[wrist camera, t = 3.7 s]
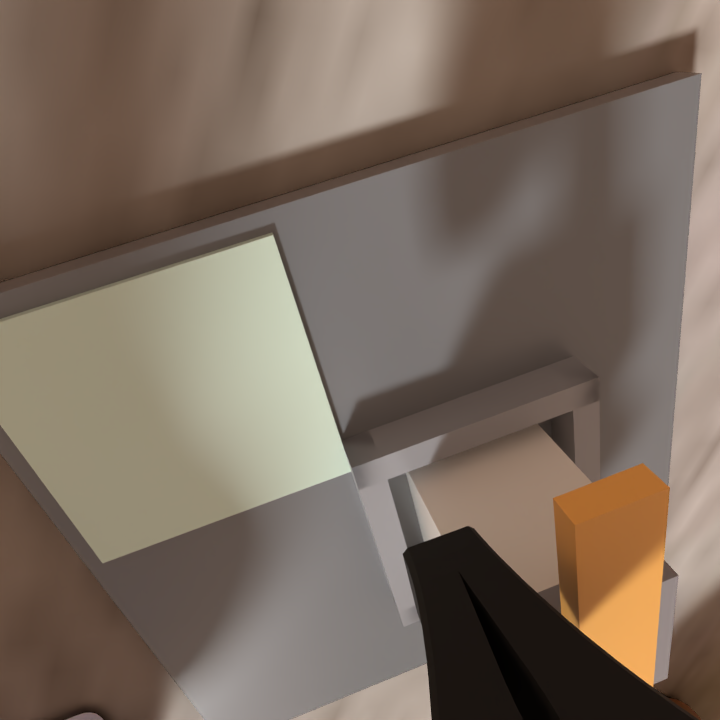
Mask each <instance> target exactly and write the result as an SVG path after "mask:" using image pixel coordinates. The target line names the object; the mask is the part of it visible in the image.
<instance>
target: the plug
mask: <svg viewBox="0 0 720 720" xmlns="http://www.w3.org/2000/svg"><path fill="white" fill-rule="evenodd" d="M406 475H407V479H408V483H409V487H410V491H411V495H412V498H413V502H414V506H415V510H416V514H417V518H418V521H419V525H420V529H421V533H422V537H423V541H424V542H425V541H428V540H430V539H433V538H436V537H439V536H441V535H444V534H447V533H450V532H452V531H455V530H458V529H461V528H463V527H466V526H470V527H472V528H474V529H475V530H476V531H477V532H478V534H479V535H480V536H481V537H482V538H483V539H484V540H485V541H486V542H487V543H488V545H489V546H490V547H491V548H492V549H493V550H494V551H495V552H496V553H497V554H498V555H499V556H500V557H501V558H502V559H503V560H504V561H505V562H506V563H507V564H508V565H509V566H510V567H511V568H512V569H513V570H514V571H515V572H516V573H517V574H518V575H519V576H520V577H521V578H522V579H523V580H524V581H525V582H526V583H527V584H528V585H529V586H530V587H532V588H533V589H534V590H535V591H536V592H537V593H538V594H539V595H540V596H541V597H543V598H544V599H545V600H546V601H547V602H548V603H549V604H550V605H552V606H553V607H554V608H555V609H556V610H557V611H558V612H559V613H561V602H560V588H559V575H558V561H557V547H556V533H555V519H554V506H553V498H555V497H557V496H560V495H562V494H565V493H567V492H570V491H573V490H575V489H578V488H580V487H583V486H585V485H588V484H590V483H592V482H591V481H590V480H589V479H588V478H587V476H586V475H585V474H584V473H583V472H582V471H581V470H580V469H579V468H578V467H577V466H576V465H575V464H574V462H573V461H572V460H571V459H570V458H569V457H568V456H567V455H566V454H565V453H564V452H563V451H562V450H561V448H560V447H559V446H558V445H557V444H556V443H555V442H554V441H553V440H552V439H551V438H550V437H549V436H548V434H547V433H546V432H545V431H544V430H543V429H542V428H541V427H540V426H539V425H538V424H535V425H533V426H530V427H527V428H525V429H522V430H519V431H517V432H514V433H511V434H509V435H506V436H503V437H501V438H498V439H495V440H492V441H490V442H487V443H484V444H482V445H479V446H476V447H474V448H471V449H468V450H466V451H463V452H460V453H458V454H455V455H452V456H450V457H447V458H444V459H442V460H439V461H436V462H434V463H431V464H428V465H426V466H423V467H420V468H417V469H415V470H412V471H409V472H407V473H406ZM677 584H678V575H677V573H676V572H675V571H674V570H673V569H672V568H671V567H670V566H669V565H668V564H667V563H666V562H665V561H664V563H663V576H662V588H661V600H660V612H659V624H658V636H657V648H656V660H655V672H654V684H656V683H658V682H660V681H663V680H665V679H667V678H668V669H669V660H670V650H671V641H672V631H673V622H674V613H675V603H676V594H677Z"/></svg>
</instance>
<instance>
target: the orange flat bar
mask: <svg viewBox="0 0 720 720" xmlns="http://www.w3.org/2000/svg"><path fill="white" fill-rule="evenodd" d="M669 491H670V487H668V486H667V485H666V484H665V483H664V482H663V481H662V480H661V479H660V478H659V477H658V476H656V475H655V474H654V473H653V472H652V471H651V470H650V469H649V468H648V467H647V466H645V465H644V464H643V463H642V464H639V465H637V466H634V467H632V468H629V469H626V470H624V471H621V472H619V473H616V474H614V475H611V476H608V477H606V478H603V479H601V480H598V481H596V482H593V483H590V484H588V485H585V486H583V487H580V488H578V489H575V490H573V491H570V492H567V493H565V494H562V495H560V496H557V497H555V498H553V506H554V519H555V533H556V547H557V561H558V575H559V588H560V602H561V614H562V615H563V616H564V617H565V618H566V619H567V620H568V621H570V622H571V623H572V624H573V625H574V626H576V627H577V628H578V629H579V630H580V631H582V632H583V633H584V634H585V635H586V636H587V637H589V638H590V639H591V640H592V641H594V642H595V643H596V644H597V645H599V646H600V647H601V648H602V649H604V650H605V651H606V652H607V653H609V654H610V655H611V656H612V657H614V658H615V659H616V660H617V661H619V662H620V663H621V664H623V665H624V666H625V667H627V668H628V669H629V670H630V671H632V672H633V673H634V674H636V675H637V676H638V677H640V678H641V679H642V680H644V681H645V682H646V683H648V684H649V685H651V686H652V687H653V684H654V672H655V660H656V648H657V636H658V624H659V612H660V600H661V588H662V576H663V563H664V551H665V539H666V527H667V515H668V503H669Z"/></svg>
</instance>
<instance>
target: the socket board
mask: <svg viewBox="0 0 720 720" xmlns="http://www.w3.org/2000/svg"><path fill="white" fill-rule="evenodd" d="M700 86H701V73H685V72H675V73H672V74H668V75H665V76H662V77H659V78H655V79H652V80H649V81H646V82H643V83H639V84H636V85H633V86H630V87H627V88H623V89H620V90H617V91H614V92H611V93H607V94H604V95H601V96H598V97H594V98H591V99H588V100H585V101H582V102H578V103H575V104H572V105H569V106H566V107H562V108H559V109H556V110H553V111H550V112H546V113H543V114H540V115H537V116H534V117H530V118H527V119H524V120H521V121H517V122H514V123H511V124H508V125H505V126H501V127H498V128H495V129H492V130H489V131H485V132H482V133H479V134H476V135H473V136H469V137H466V138H463V139H460V140H456V141H453V142H450V143H447V144H444V145H440V146H437V147H434V148H431V149H428V150H424V151H421V152H418V153H415V154H412V155H408V156H405V157H402V158H399V159H396V160H392V161H389V162H386V163H383V164H379V165H376V166H373V167H370V168H367V169H363V170H360V171H357V172H354V173H351V174H347V175H344V176H341V177H338V178H335V179H331V180H328V181H325V182H322V183H318V184H315V185H312V186H309V187H306V188H302V189H299V190H296V191H293V192H290V193H286V194H283V195H280V196H277V197H274V198H270V199H267V200H264V201H261V202H258V203H254V204H251V205H248V206H245V207H241V208H238V209H235V210H232V211H229V212H225V213H222V214H219V215H216V216H213V217H209V218H206V219H203V220H200V221H197V222H193V223H190V224H187V225H184V226H180V227H177V228H174V229H171V230H168V231H164V232H161V233H158V234H155V235H152V236H148V237H145V238H142V239H139V240H136V241H132V242H129V243H126V244H123V245H120V246H116V247H113V248H110V249H107V250H103V251H100V252H97V253H94V254H91V255H87V256H84V257H81V258H78V259H75V260H71V261H68V262H65V263H62V264H59V265H55V266H52V267H49V268H46V269H42V270H39V271H36V272H33V273H30V274H26V275H23V276H20V277H17V278H14V279H10V280H7V281H4V282H1V283H0V454H1V455H2V457H3V458H4V459H5V461H6V462H7V463H8V464H9V466H10V467H11V468H12V470H13V471H14V472H15V474H16V475H17V476H18V477H19V479H20V480H21V481H22V483H23V484H24V485H25V487H26V488H27V489H28V491H29V492H30V493H31V494H32V496H33V497H34V498H35V500H36V501H37V502H38V504H39V505H40V506H41V507H42V509H43V510H44V511H45V513H46V514H47V515H48V517H49V518H50V519H51V521H52V522H53V523H54V524H55V526H56V527H57V528H58V530H59V531H60V532H61V534H62V535H63V536H64V537H65V539H66V540H67V541H68V543H69V544H70V545H71V547H72V548H73V549H74V551H75V552H76V553H77V554H78V556H79V557H80V558H81V560H82V561H83V562H84V564H85V565H86V566H87V567H88V569H89V570H90V571H91V573H92V574H93V575H94V577H95V578H96V579H97V581H98V582H99V583H100V584H101V586H102V587H103V588H104V590H105V591H106V592H107V594H108V595H109V596H110V597H111V599H112V600H113V601H114V603H115V604H116V605H117V607H118V608H119V609H120V611H121V612H122V613H123V614H124V616H125V617H126V618H127V620H128V621H129V622H130V624H131V625H132V626H133V627H134V629H135V630H136V631H137V633H138V634H139V635H140V637H141V638H142V639H143V641H144V642H145V643H146V644H147V646H148V647H149V648H150V650H151V651H152V652H153V654H154V655H155V656H156V657H157V659H158V660H159V661H160V663H161V664H162V665H163V667H164V668H165V669H166V671H167V672H168V673H169V674H170V676H171V677H172V678H173V680H174V681H175V682H176V684H177V685H178V686H179V687H180V689H181V690H182V691H183V693H184V694H185V695H186V697H187V698H188V699H189V701H190V702H191V703H192V704H193V706H194V707H195V708H196V710H197V711H198V712H199V714H200V715H201V716H202V717H203V719H204V720H290V719H293V718H295V717H298V716H300V715H303V714H305V713H307V712H310V711H312V710H315V709H317V708H320V707H322V706H324V705H327V704H329V703H332V702H334V701H337V700H339V699H341V698H344V697H346V696H349V695H351V694H353V693H356V692H358V691H361V690H363V689H366V688H368V687H370V686H373V685H375V684H378V683H380V682H383V681H385V680H387V679H390V678H392V677H395V676H397V675H400V674H402V673H404V672H407V671H409V670H412V669H414V668H417V667H419V666H421V665H424V664H426V663H427V659H426V652H425V645H424V638H423V630H422V625H421V622H420V619H419V616H418V614H417V610H416V606H415V602H414V598H413V594H412V590H411V586H410V582H409V578H408V574H407V570H406V566H405V562H404V558H403V553H404V552H405V550H406V549H407V548H409V547H411V546H414V545H417V544H419V543H422V542H424V541H423V537H422V533H421V529H420V525H419V521H418V518H417V514H416V510H415V506H414V502H413V498H412V495H411V491H410V487H409V483H408V479H407V475H406V473H407V472H409V471H412V470H415V469H417V468H420V467H423V466H426V465H428V464H431V463H434V462H436V461H439V460H442V459H444V458H447V457H450V456H452V455H455V454H458V453H460V452H463V451H466V450H468V449H471V448H474V447H476V446H479V445H482V444H484V443H487V442H490V441H492V440H495V439H498V438H501V437H503V436H506V435H509V434H511V433H514V432H517V431H519V430H522V429H525V428H527V427H530V426H533V425H535V424H538V425H539V426H540V427H541V428H542V429H543V430H544V431H545V432H546V433H547V434H548V436H549V437H550V438H551V439H552V440H553V441H554V442H555V443H556V444H557V445H558V446H559V447H560V448H561V450H562V451H563V452H564V453H565V454H566V455H567V456H568V457H569V458H570V459H571V460H572V461H573V462H574V464H575V465H576V466H577V467H578V468H579V469H580V470H581V471H582V472H583V473H584V474H585V475H586V476H587V478H588V479H589V480H590V481H591V482H592V483H593V482H596V481H598V480H601V479H603V478H606V477H608V476H611V475H614V474H616V473H619V472H621V471H624V470H626V469H629V468H632V467H634V466H637V465H639V464H642V463H643V464H644V465H645V466H647V467H648V468H649V469H650V470H651V471H652V472H653V473H654V474H655V475H656V476H658V477H659V478H660V479H661V480H662V481H663V482H664V483H665V484H666V485H667V486H668V483H669V471H670V458H671V446H672V433H673V421H674V409H675V396H676V384H677V371H678V359H679V347H680V334H681V322H682V309H683V297H684V284H685V272H686V260H687V247H688V235H689V222H690V210H691V197H692V185H693V173H694V160H695V148H696V135H697V123H698V110H699V98H700Z"/></svg>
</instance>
